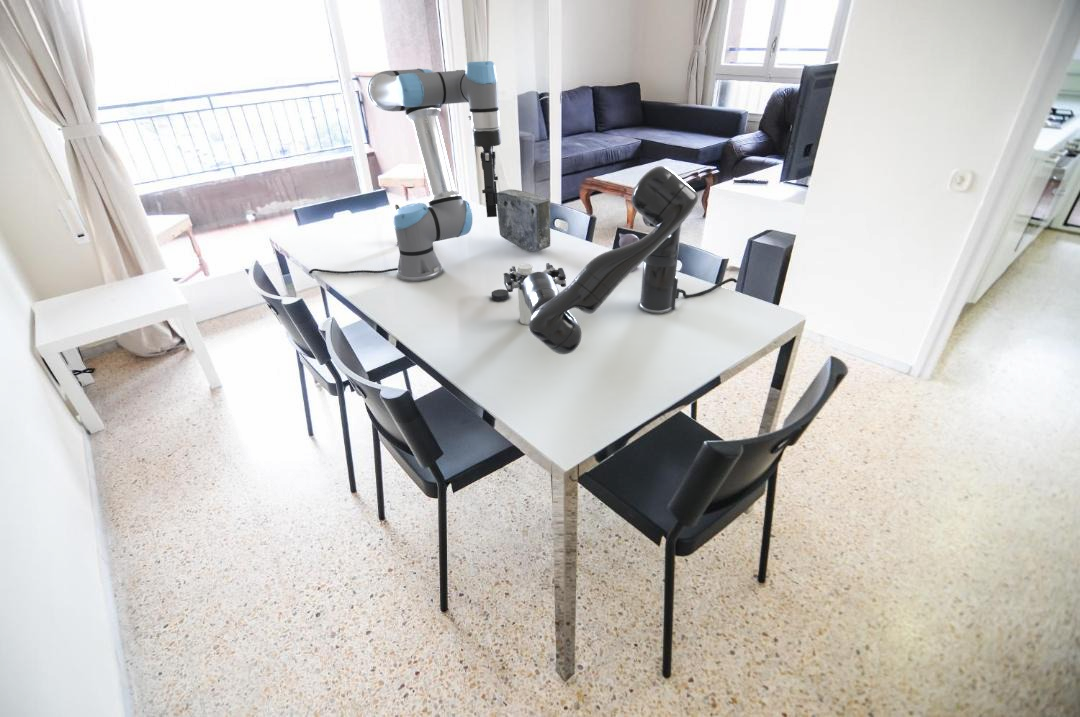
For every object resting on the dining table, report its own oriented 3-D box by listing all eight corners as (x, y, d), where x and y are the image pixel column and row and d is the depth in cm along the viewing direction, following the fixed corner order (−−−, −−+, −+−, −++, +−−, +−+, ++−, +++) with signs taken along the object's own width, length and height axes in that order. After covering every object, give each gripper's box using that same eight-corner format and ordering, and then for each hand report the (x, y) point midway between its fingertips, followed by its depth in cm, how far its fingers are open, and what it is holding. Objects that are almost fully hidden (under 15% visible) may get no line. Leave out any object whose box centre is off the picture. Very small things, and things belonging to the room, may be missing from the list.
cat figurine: (644, 267, 174) (647, 233, 167) (631, 274, 169) (634, 239, 163) (624, 262, 179) (626, 229, 172) (611, 268, 174) (612, 234, 168)
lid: (509, 294, 159) (508, 288, 158) (508, 301, 154) (508, 295, 153) (492, 294, 159) (491, 289, 158) (491, 302, 154) (491, 296, 153)
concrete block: (555, 253, 189) (554, 199, 179) (537, 258, 185) (534, 204, 174) (517, 236, 208) (514, 187, 197) (499, 241, 203) (495, 191, 193)
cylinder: (520, 325, 140) (517, 269, 131) (519, 318, 144) (515, 263, 135) (536, 323, 141) (534, 268, 132) (534, 316, 144) (532, 262, 136)
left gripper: (474, 124, 142) (481, 199, 153) (468, 136, 120) (477, 223, 131) (500, 123, 142) (505, 198, 153) (499, 135, 121) (505, 221, 132)
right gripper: (573, 275, 108) (558, 251, 121) (508, 282, 106) (500, 256, 120) (573, 307, 112) (558, 279, 125) (510, 313, 110) (502, 285, 124)
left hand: (492, 210), depth 142 cm, fingers open, 13 cm apart
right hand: (530, 268), depth 122 cm, fingers open, 8 cm apart
